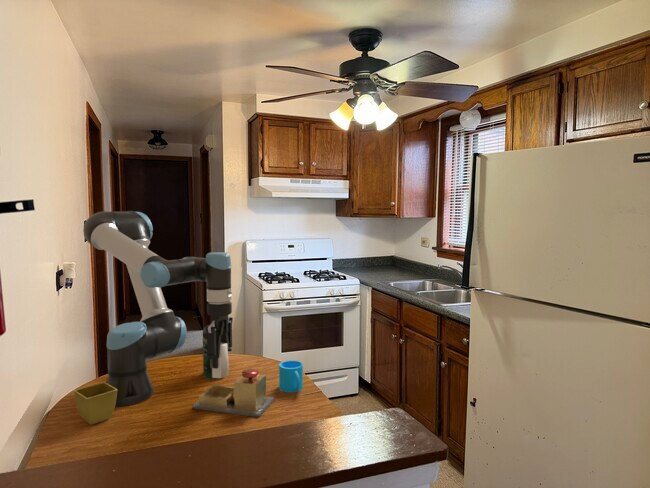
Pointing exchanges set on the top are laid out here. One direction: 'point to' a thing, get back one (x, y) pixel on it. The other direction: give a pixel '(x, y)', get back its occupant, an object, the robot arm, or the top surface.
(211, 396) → the red push button box
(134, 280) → the robot arm
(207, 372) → the coffee jar
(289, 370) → the mug
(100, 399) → the flower pot
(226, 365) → the white rounded cylinder
